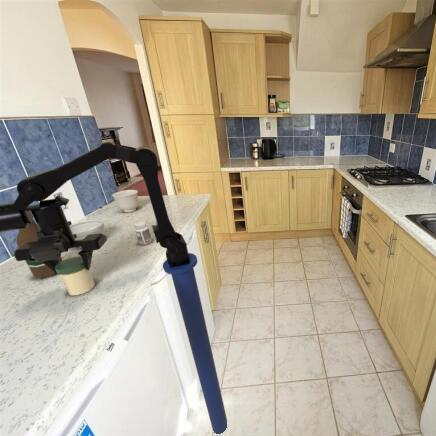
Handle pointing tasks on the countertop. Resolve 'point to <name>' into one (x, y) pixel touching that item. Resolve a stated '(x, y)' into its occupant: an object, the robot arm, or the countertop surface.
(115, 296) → the countertop surface
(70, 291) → the jam jar
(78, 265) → the jar lid
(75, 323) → the countertop surface
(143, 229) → the pill bottle
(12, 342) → the countertop surface
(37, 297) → the countertop surface
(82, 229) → the ramekin
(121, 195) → the teacup
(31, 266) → the beer bottle
